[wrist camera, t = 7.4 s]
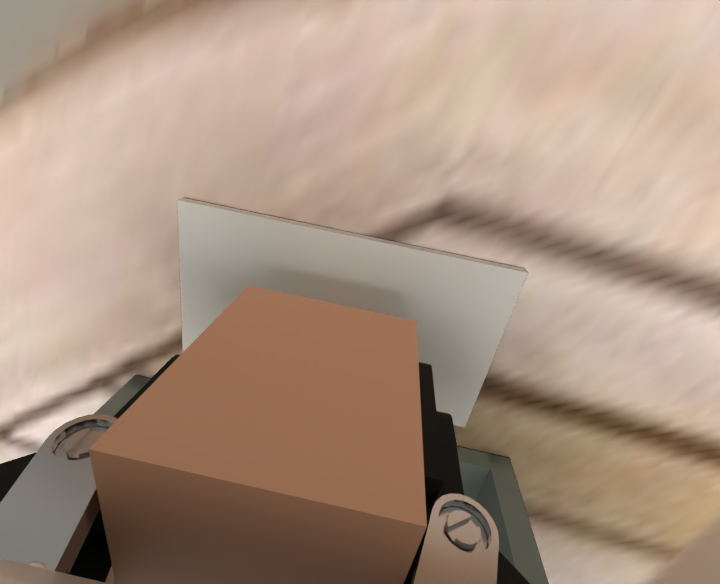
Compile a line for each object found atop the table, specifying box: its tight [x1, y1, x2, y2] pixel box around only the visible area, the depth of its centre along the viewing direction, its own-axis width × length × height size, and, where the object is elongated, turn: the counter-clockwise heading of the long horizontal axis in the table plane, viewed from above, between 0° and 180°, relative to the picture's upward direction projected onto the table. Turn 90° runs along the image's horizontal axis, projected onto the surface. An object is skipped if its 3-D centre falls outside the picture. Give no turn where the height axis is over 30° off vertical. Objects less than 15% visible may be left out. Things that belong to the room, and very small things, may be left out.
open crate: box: [93, 375, 549, 584], centre depth 17 cm, size 17×14×6 cm
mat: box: [177, 198, 528, 427], centre depth 14 cm, size 12×7×1 cm, turn 80°
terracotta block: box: [89, 285, 427, 584], centre depth 9 cm, size 5×5×6 cm
